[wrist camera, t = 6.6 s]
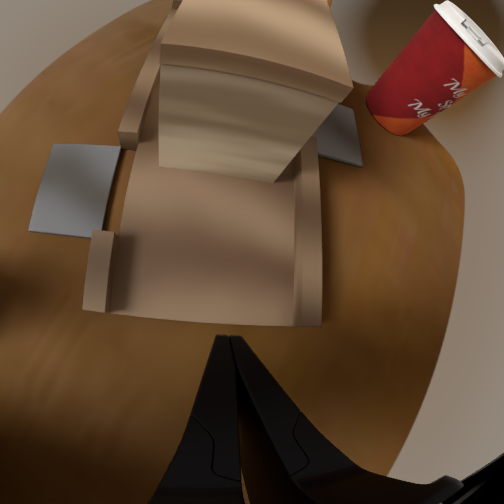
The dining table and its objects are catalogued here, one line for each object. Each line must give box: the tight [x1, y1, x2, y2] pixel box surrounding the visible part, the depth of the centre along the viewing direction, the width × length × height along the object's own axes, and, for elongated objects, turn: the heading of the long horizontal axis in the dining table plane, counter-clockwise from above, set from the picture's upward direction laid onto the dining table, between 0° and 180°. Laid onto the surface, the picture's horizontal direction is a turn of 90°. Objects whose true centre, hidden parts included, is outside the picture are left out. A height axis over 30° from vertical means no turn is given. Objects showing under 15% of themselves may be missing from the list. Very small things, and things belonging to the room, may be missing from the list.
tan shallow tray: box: [29, 0, 363, 327], centre depth 17 cm, size 26×22×3 cm
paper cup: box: [366, 1, 504, 136], centre depth 18 cm, size 8×8×14 cm
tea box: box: [159, 0, 353, 183], centre depth 14 cm, size 13×7×9 cm, turn 177°
